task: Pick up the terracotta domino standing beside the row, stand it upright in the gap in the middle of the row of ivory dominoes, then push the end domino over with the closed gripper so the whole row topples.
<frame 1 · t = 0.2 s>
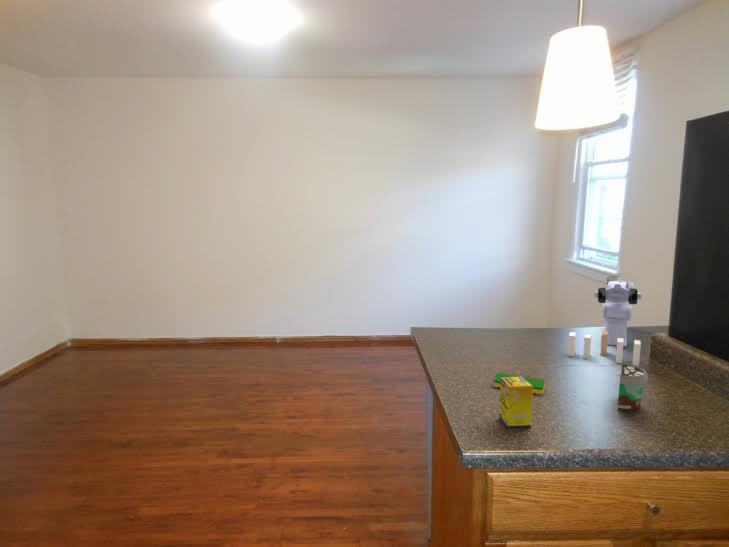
hand: (616, 298, 155), 21 cm above the countertop, tool horizontal, fingers open, 7 cm apart
domino 5: (571, 354, 162), on the countertop
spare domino: (603, 353, 163), on the countertop
supplement box: (514, 423, 112), on the countertop
domino 1: (635, 363, 152), on the countertop
domino 4: (586, 356, 160), on the countertop
food container: (631, 406, 121), on the countertop
dish sponge: (518, 388, 134), on the countertop
domino 2: (618, 361, 155), on the countertop
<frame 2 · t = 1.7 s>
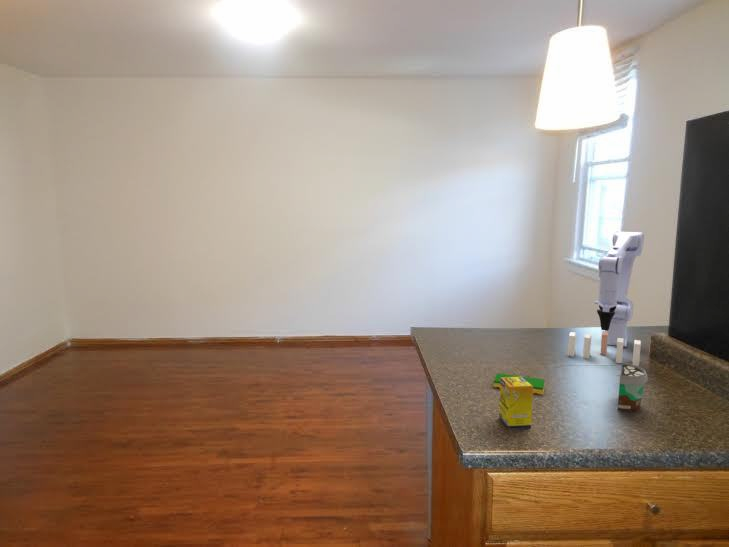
hand: (605, 327, 162), 10 cm above the countertop, tool pointing down, fingers open, 7 cm apart
nothing on the countertop moved.
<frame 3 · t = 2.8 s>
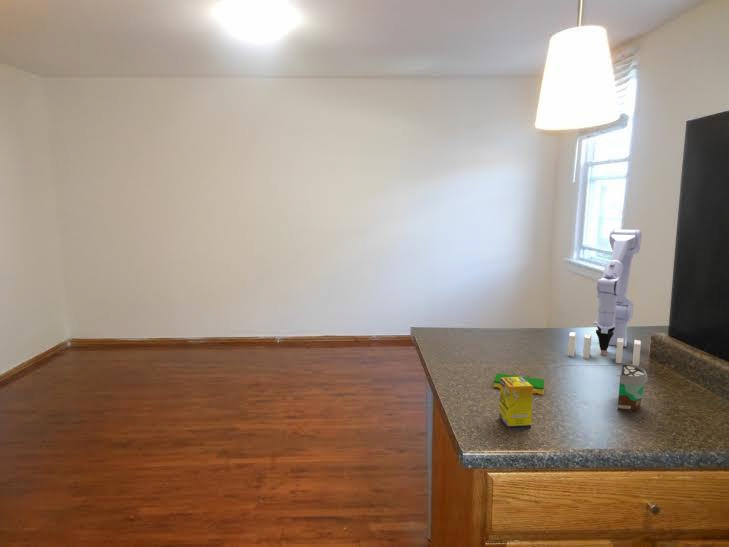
hand: (603, 347, 163), 2 cm above the countertop, tool pointing down, fingers closed on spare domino, 5 cm apart
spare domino: (603, 352, 163), on the countertop, touching gripper
everything else where it was.
when the fingers open (3 cm above the countertop, at t = 6.6 s): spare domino drops 1 cm, on the countertop.
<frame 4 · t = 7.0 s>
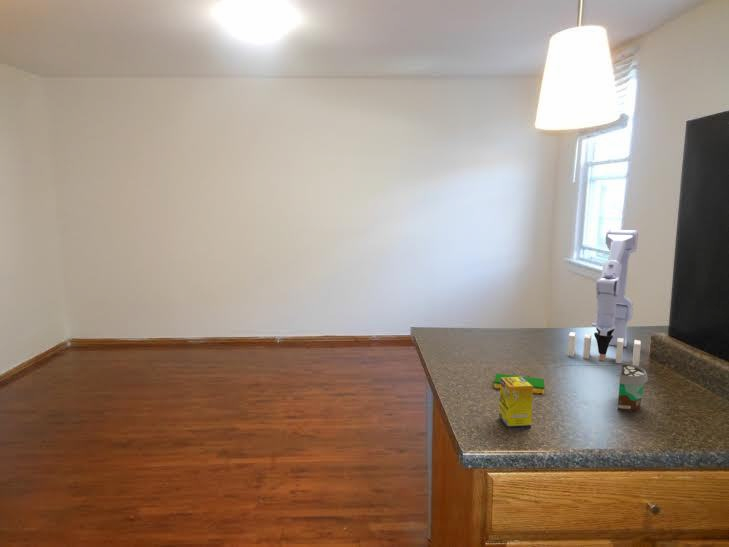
hand: (603, 350, 157), 3 cm above the countertop, tool pointing down, fingers open, 7 cm apart
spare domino: (602, 358, 157), on the countertop
everything else where it was.
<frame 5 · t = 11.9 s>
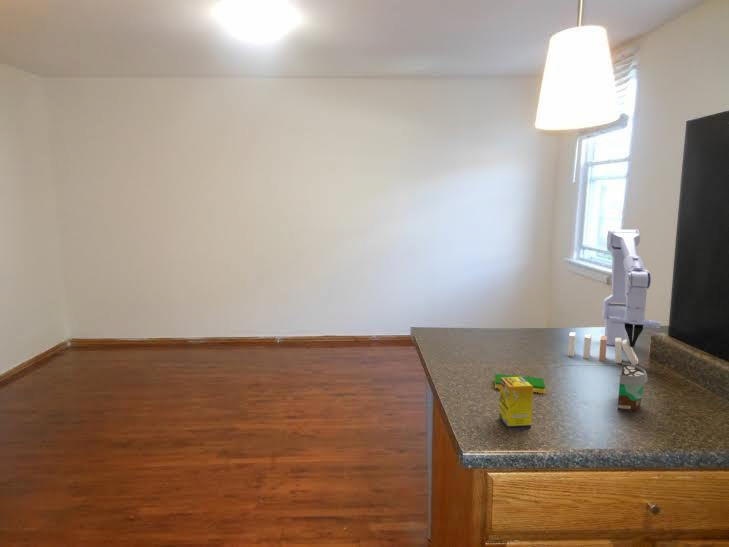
hand: (632, 346, 152), 6 cm above the countertop, tool pointing down, fingers closed
domino 1: (635, 362, 152), on the countertop, tilted 30°
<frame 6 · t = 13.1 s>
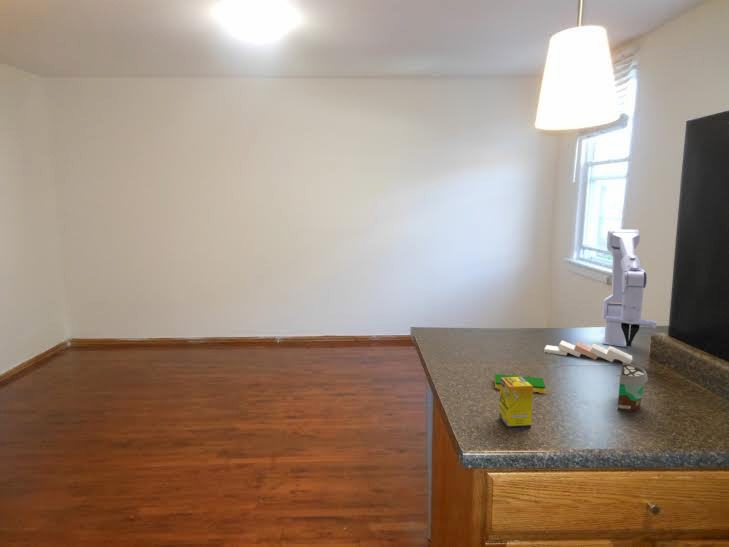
hand: (628, 345, 153), 6 cm above the countertop, tool pointing down, fingers closed
domino 5: (567, 352, 163), on the countertop, tilted 90°, touching domino 4
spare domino: (597, 355, 158), point 1 cm above the countertop, tilted 69°, touching domino 2, domino 4
domino 1: (630, 360, 153), point 1 cm above the countertop, tilted 69°, touching domino 2
domino 4: (581, 353, 161), point 1 cm above the countertop, tilted 73°, touching domino 5, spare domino
domino 2: (613, 357, 155), point 1 cm above the countertop, tilted 69°, touching domino 1, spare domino
everything else where it was.
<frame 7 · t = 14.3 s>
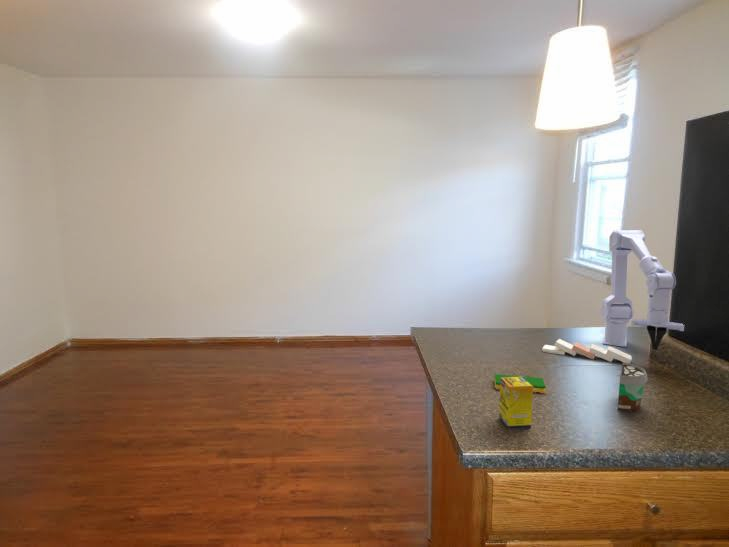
hand: (654, 348, 149), 6 cm above the countertop, tool pointing down, fingers closed
domino 5: (565, 352, 164), on the countertop, tilted 90°
domino 4: (577, 352, 162), point 1 cm above the countertop, tilted 72°, touching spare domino
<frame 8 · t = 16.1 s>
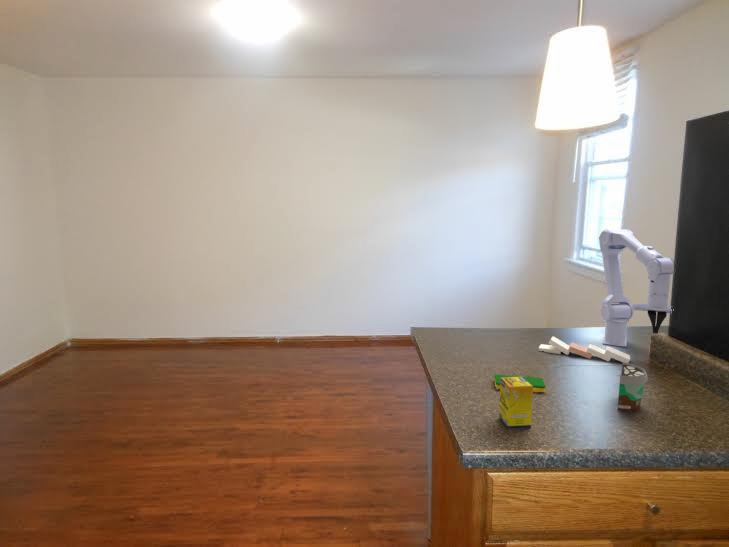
hand: (655, 332, 153), 10 cm above the countertop, tool pointing down, fingers closed
domino 5: (561, 351, 165), on the countertop, tilted 90°
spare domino: (591, 354, 159), point 1 cm above the countertop, tilted 74°
domino 4: (569, 351, 163), point 1 cm above the countertop, tilted 63°
domino 2: (610, 357, 156), point 1 cm above the countertop, tilted 72°, touching domino 1
at the end: domino 5 tilted 90°; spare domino tilted 75°; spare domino inside the target area (1.9 cm from its centre), point 0.8 cm above the countertop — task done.
